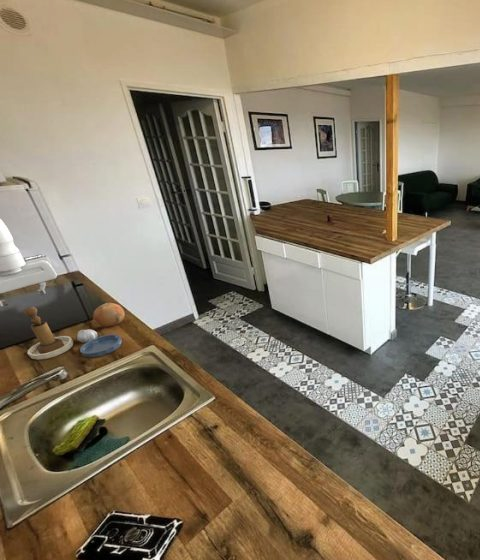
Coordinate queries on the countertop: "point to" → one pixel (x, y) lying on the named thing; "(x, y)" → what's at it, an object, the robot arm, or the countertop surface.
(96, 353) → the slate saucer
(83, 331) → the garlic
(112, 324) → the onion
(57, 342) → the mortar and pestle
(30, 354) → the cream saucer
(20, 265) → the robot arm
